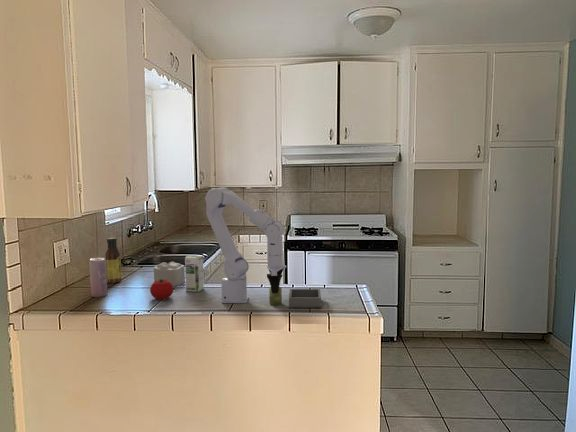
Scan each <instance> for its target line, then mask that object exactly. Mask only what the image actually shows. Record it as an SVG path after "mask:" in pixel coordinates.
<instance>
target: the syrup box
mask: <svg viewBox="0 0 576 432" xmlns="http://www.w3.org/2000/svg"><path fill="white" fill-rule="evenodd" d="M184 264H185V265H184V273H185V291H186V292H192V293H193V292H195V293H199V292H201V291H202V290H204V288H205V286H204V285H205V284H204V280H205V279H204V255H197V254H196V255H195V254H190V255H187V256H185V257H184Z"/></svg>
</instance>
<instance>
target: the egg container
mask: <svg viewBox="0 0 576 432" xmlns="http://www.w3.org/2000/svg"><path fill="white" fill-rule="evenodd" d="M159 279H160V280H161V279H162V280H168V281H170V282H171V283H172V285H173V287H174V286H175V287H176V286H179V285H181V284H183V283H184V282H186V275H185V265H184V264H181V263H178V262H175V261H170V262H168V263H167V262H161V263H159V264H157V265H155V266H153V283H154V282H155V281H158V280H159Z"/></svg>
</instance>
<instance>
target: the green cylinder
mask: <svg viewBox="0 0 576 432" xmlns="http://www.w3.org/2000/svg"><path fill="white" fill-rule="evenodd" d="M268 291H269V306H275V307H276V306H280V305H282V303H283V301H282V299H283V297H282V295H283V292H282V291H283V289H282V287H281V286H279V290H278V293H272V291H271V286H270V287H269V290H268Z"/></svg>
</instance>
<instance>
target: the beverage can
mask: <svg viewBox="0 0 576 432" xmlns="http://www.w3.org/2000/svg"><path fill="white" fill-rule="evenodd" d="M88 265H89V279H90V295H91V297H93V298H102V297H105V296H107V294H108V284H107V283H108V279H107V271H106V257H93V258H90V259H89V262H88Z"/></svg>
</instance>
